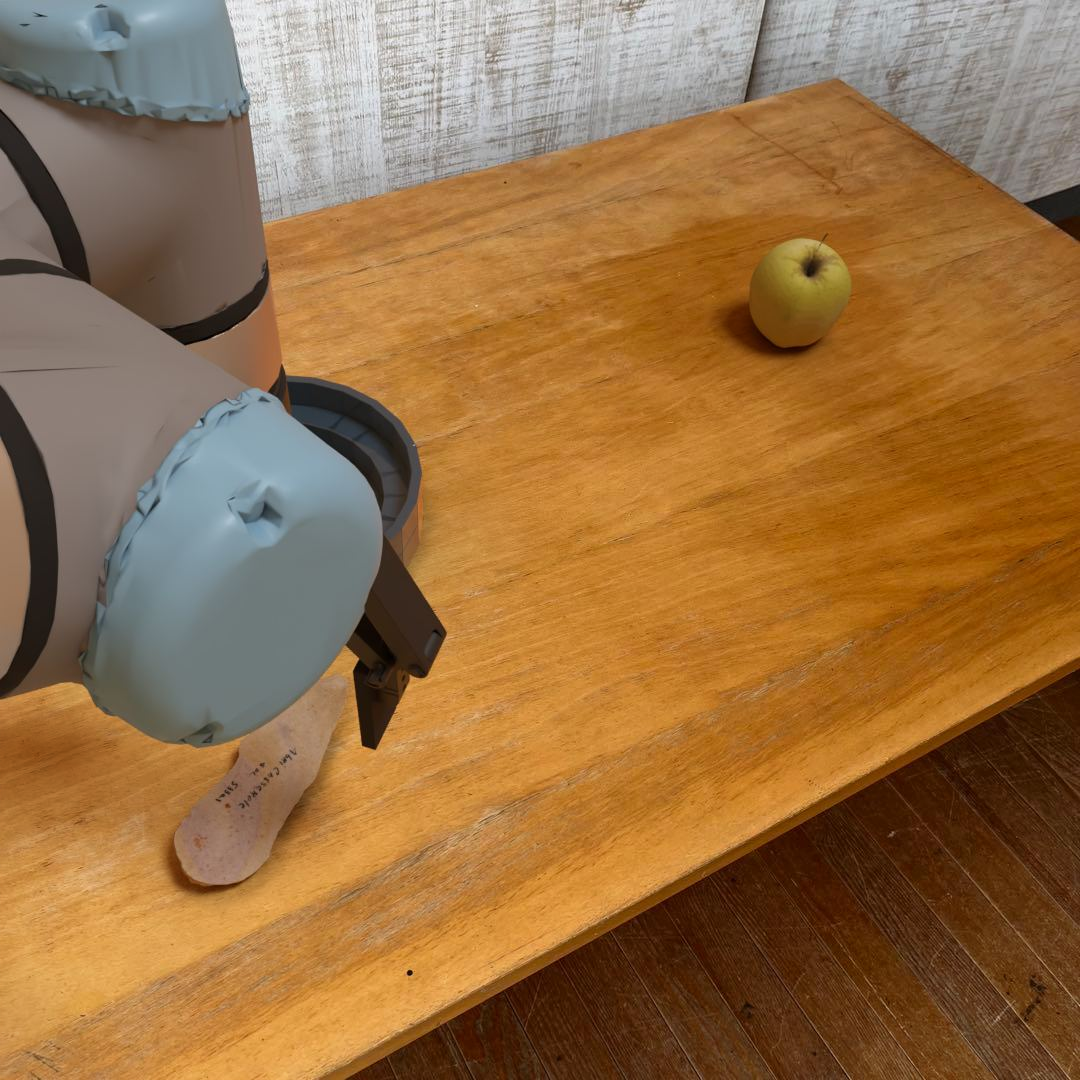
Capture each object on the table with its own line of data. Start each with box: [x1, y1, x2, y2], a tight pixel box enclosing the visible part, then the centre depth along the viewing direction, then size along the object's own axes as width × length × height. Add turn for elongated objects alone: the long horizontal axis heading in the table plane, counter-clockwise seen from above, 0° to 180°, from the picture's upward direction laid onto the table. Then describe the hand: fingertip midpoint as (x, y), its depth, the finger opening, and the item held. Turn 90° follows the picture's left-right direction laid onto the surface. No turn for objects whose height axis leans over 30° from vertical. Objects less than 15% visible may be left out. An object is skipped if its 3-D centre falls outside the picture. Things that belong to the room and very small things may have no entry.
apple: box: [748, 232, 852, 349], centre depth 95 cm, size 8×8×10 cm
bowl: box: [286, 374, 424, 569], centre depth 79 cm, size 20×20×5 cm
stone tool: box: [173, 673, 350, 887], centre depth 67 cm, size 5×2×15 cm
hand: (258, 689), depth 61 cm, fingers open, 13 cm apart
